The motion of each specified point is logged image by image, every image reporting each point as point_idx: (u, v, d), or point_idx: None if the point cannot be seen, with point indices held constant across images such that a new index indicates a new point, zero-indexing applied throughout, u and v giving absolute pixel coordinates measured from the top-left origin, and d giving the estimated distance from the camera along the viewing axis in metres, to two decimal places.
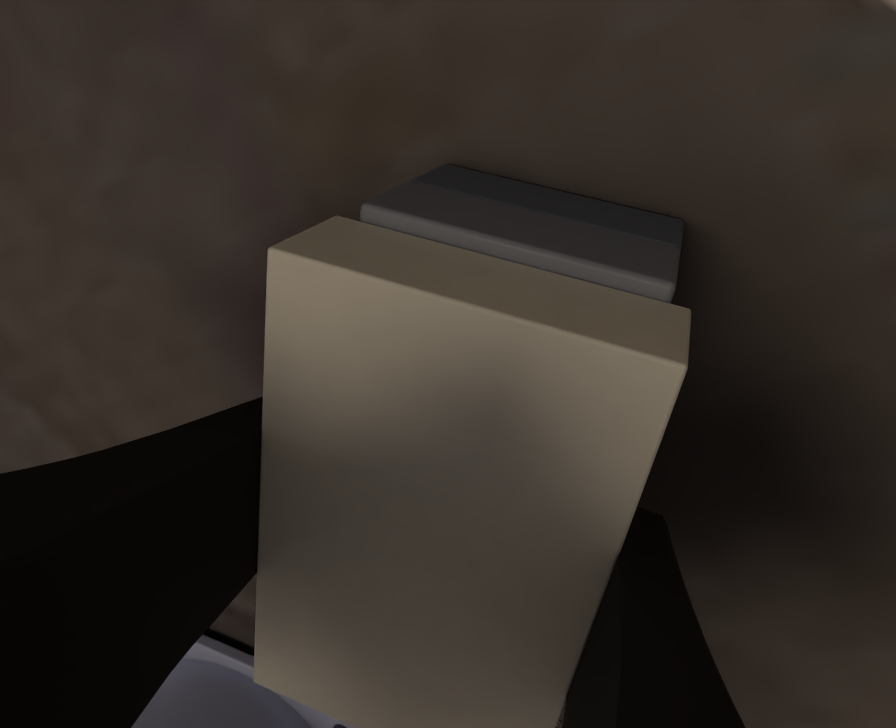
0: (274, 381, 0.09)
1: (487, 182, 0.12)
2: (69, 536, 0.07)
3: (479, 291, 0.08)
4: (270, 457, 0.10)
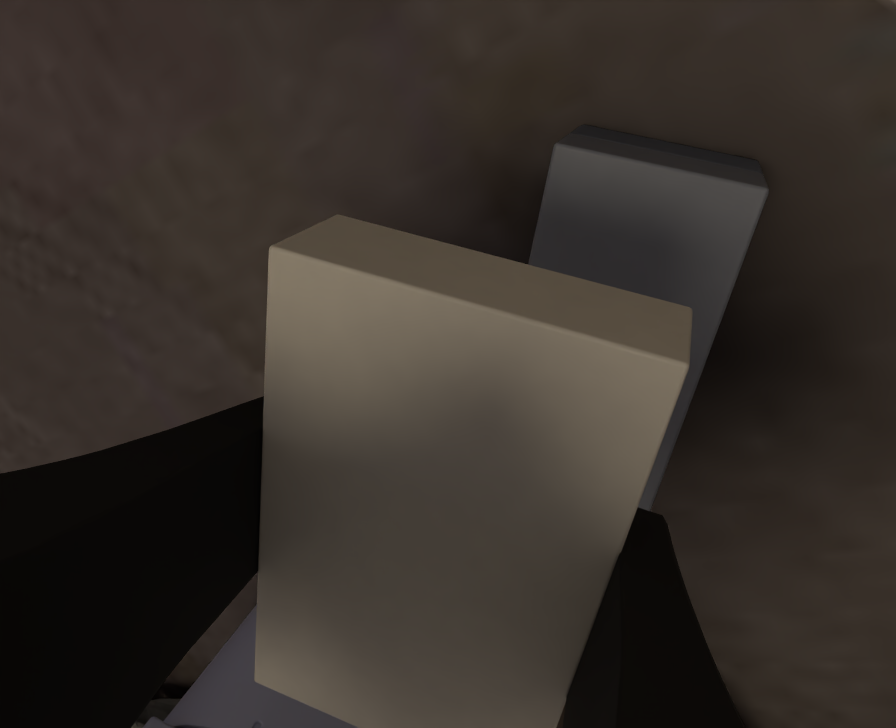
0: (276, 380, 0.09)
1: (618, 135, 0.17)
2: (69, 536, 0.07)
3: (480, 290, 0.08)
4: (271, 456, 0.10)
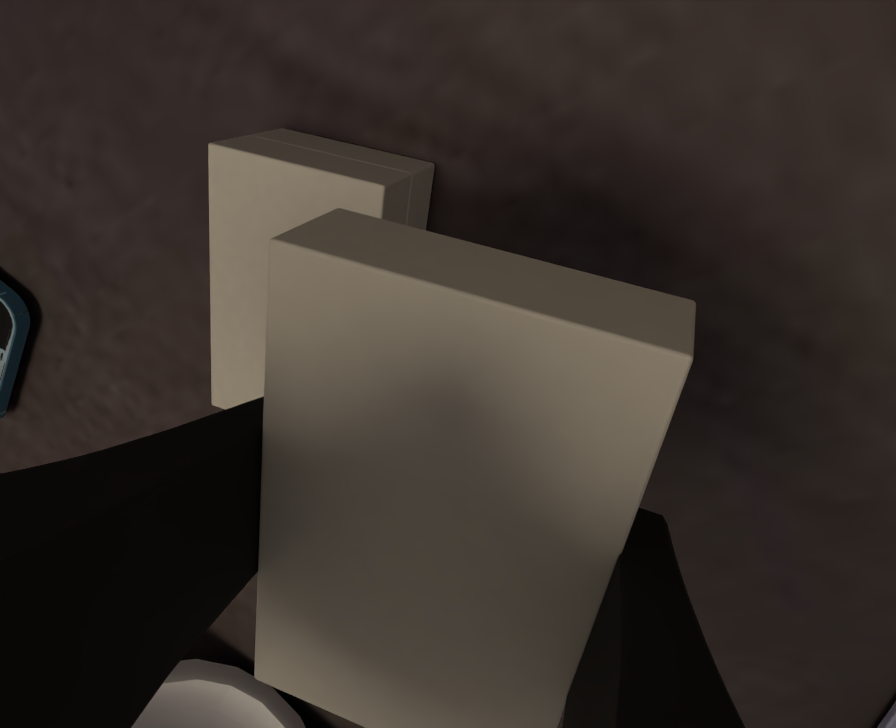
0: (276, 374, 0.09)
1: None
2: (69, 536, 0.07)
3: (483, 282, 0.08)
4: (271, 451, 0.10)
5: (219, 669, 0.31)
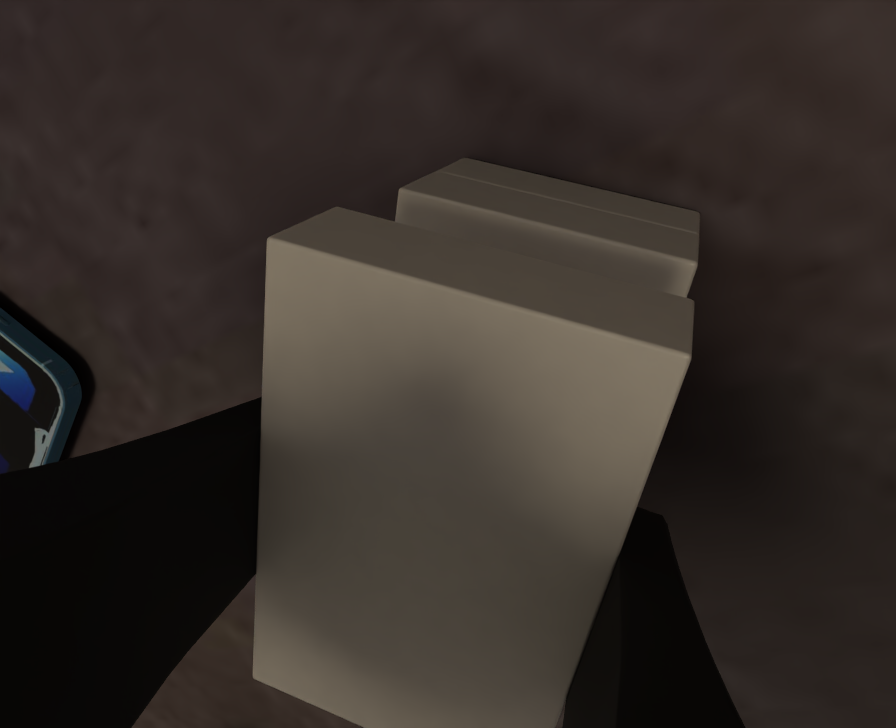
0: (273, 373, 0.09)
1: None
2: (69, 536, 0.07)
3: (480, 281, 0.08)
4: (269, 450, 0.10)
5: None
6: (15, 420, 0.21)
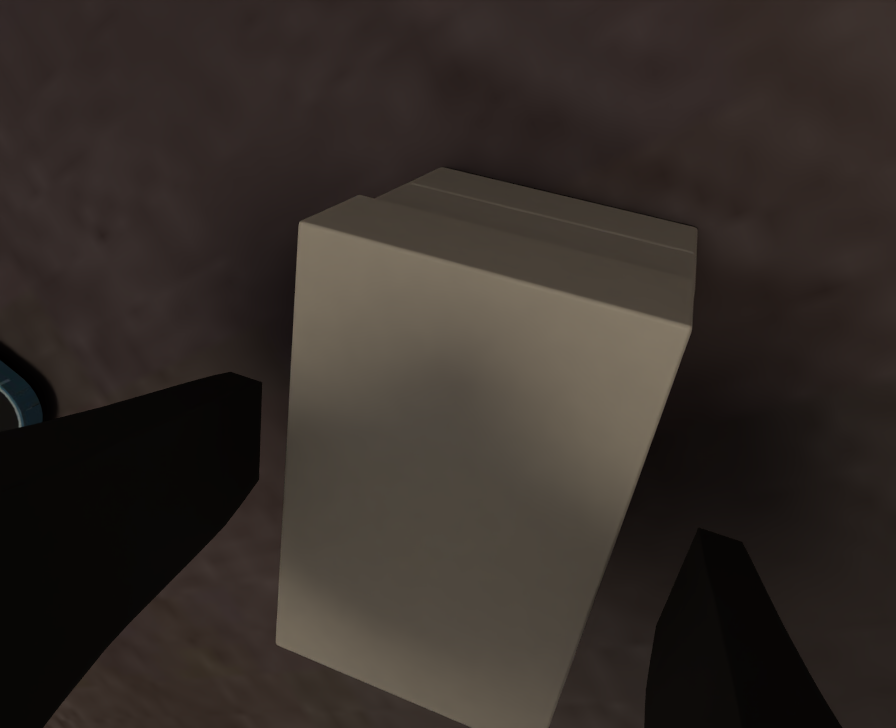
0: (303, 349, 0.10)
1: None
2: None
3: (497, 261, 0.09)
4: (297, 423, 0.10)
5: None
6: None
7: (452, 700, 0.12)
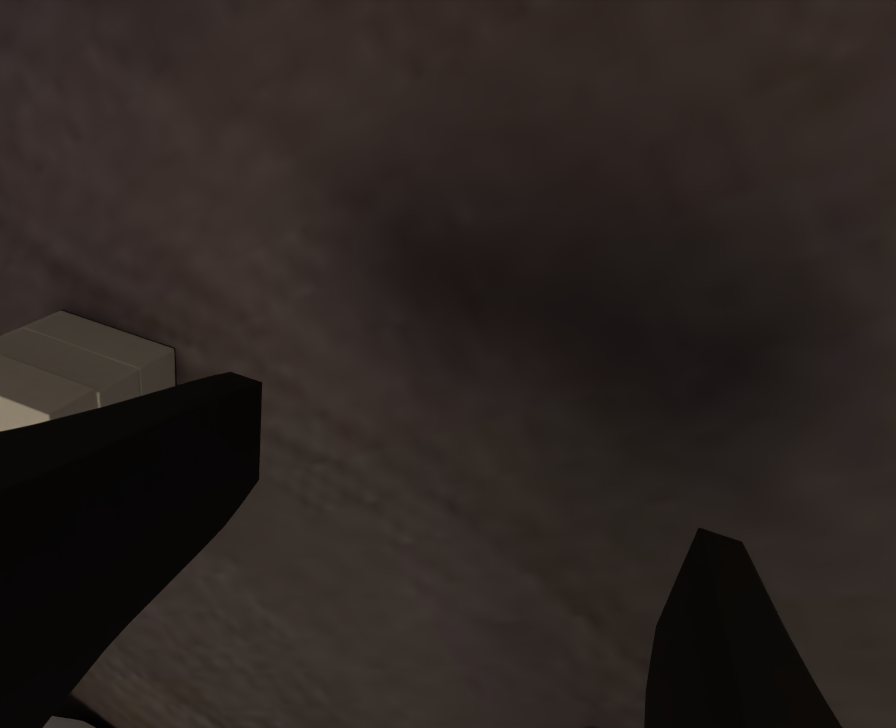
0: None
1: None
2: None
3: None
4: None
5: (65, 724, 0.36)
6: None
7: None
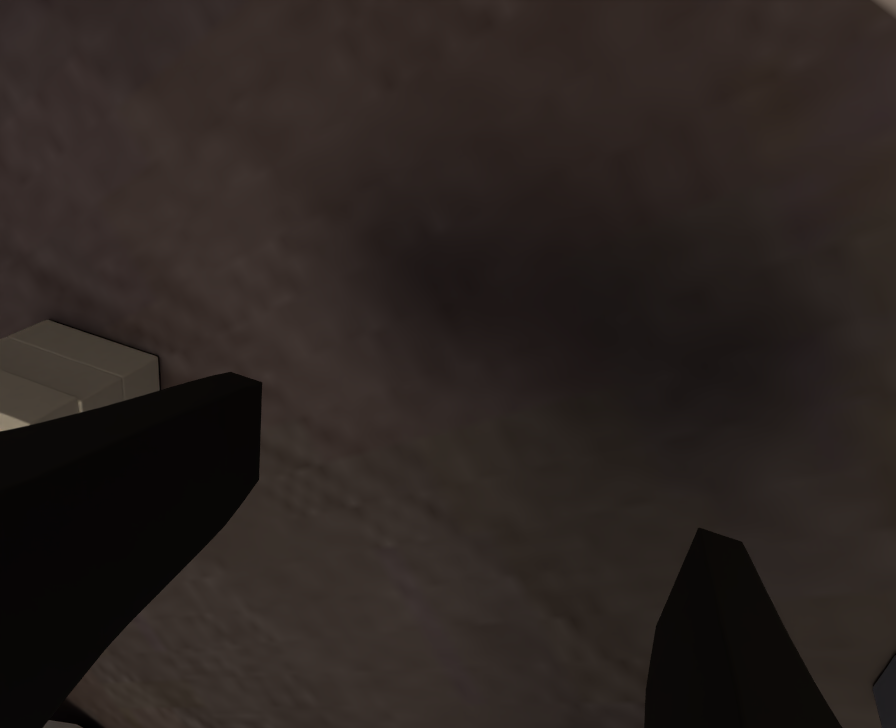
0: None
1: None
2: None
3: None
4: None
5: (59, 727, 0.36)
6: None
7: None
